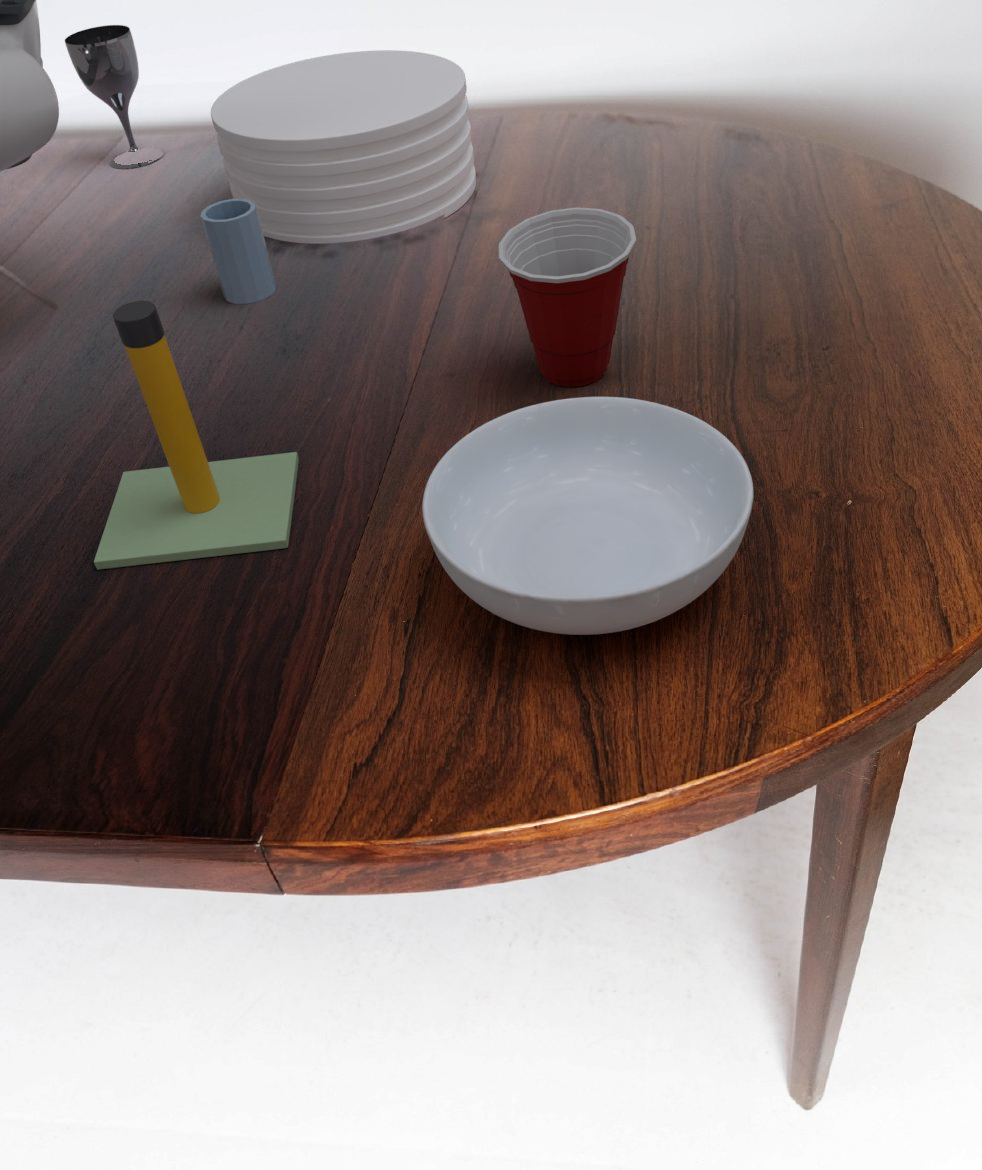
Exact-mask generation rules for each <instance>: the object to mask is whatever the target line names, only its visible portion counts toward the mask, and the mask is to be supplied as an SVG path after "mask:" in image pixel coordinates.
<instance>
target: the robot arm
mask: <svg viewBox="0 0 982 1170" xmlns="http://www.w3.org/2000/svg"><path fill="white" fill-rule="evenodd" d="M39 18H40V17H39V10H38V1H37V0H0V173H1V172H3V171H5V170H10V169H13V168H17V167H19V166H20V165H23V164H25V163H27V162H28V161H29V160H30V159H31V158H32V156H33V155H34V154H35V153H36V152H37V151H39V150H40V149H42V148H43V147H44V146H46V145H47V144H48V143H49V142H50V141H51V139H52V138H53V136H54V135H55V133H56V130H57V128H58V124H59V119H60V106H59V99H58V95H57V91H56V88H55V86H54V84H53V82H52V80H51V78H50V76H49V74H48V72H47V71H46V70H45V69H44V61H43V57H42V46H41V43H42V42H41V29H40V20H39Z"/></svg>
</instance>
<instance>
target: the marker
mask: <svg viewBox="0 0 982 1170" xmlns="http://www.w3.org/2000/svg"><path fill="white" fill-rule="evenodd" d="M112 318H113V321H114V324H115V326H116V330H117V332H118V334H119V338H120V340H121V343H122V345H123V347H124V348H125V349H124V350H125V351H126V354H127V356H128V360H129V361H130V364H131V368H132V370H133V373H134V375H135V378H136V381H137V384H138V386H139V389H140V391H141V395H142V397H143V399H144V402H145V404H146V407H147V410H148V414H149V416H150V418H151V421H152V424H153V427H154V429H155V432H156V434H157V437H158V439H159V443H160V445H161V448H162V451H163V453H164V456H165V458H166V461H167V464H168V467H170V469H171V472H172V475H173V477H174V480H175V483H176V486H177V488H178V491H179V494H180V496H181V499H182V502H183V504H184V507H185V509H186V510H187V511H189V512H191V513H203V512H207V511H209V510H211V509H213V508H214V507H215V506H217V504H218V503H219V501H220V496H219V493H218V490H217V487H216V485H215V482H214V479H213V476H212V473H211V470H210V467H209V464H208V462H209V461H208V459H207V455H206V453H205V450H204V447H203V446H204V445H203V443H202V441H201V437H200V435H199V431H198V429H197V425H196V423H195V420H194V417H193V414H192V411H191V408H190V406H189V403H188V399H187V398H186V393H185V391H184V387H183V385H182V383H181V379H180V376H179V374H178V370H177V367H176V364H175V361H174V358H173V356H172V352H171V350H170V346H169V344H168V341H167V338H166V335H165V330H164V327H163V324H162V321H161V318H160V315H159V312H158V309H157V307H156V304H155V303H154V302H152V301H150V300H135V301H130V302H127V303H125V304H122V305H120V306H119V307H117V308H116V309H115V310H114V311H113V313H112Z"/></svg>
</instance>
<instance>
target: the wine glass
mask: <svg viewBox="0 0 982 1170" xmlns="http://www.w3.org/2000/svg"><path fill="white" fill-rule="evenodd" d="M133 38H134V37H133V34H132V32H131V28H130V27H129V26H127V25H123V24H110V25H100V26H95V27H90V28H85V29H83V30H79V31H77V32H74V33H72V34H70V35H68V36H66V38H64V43H65V47H66V50H67V52H68V56H69V58H70V61H71V64H72V66H73V68H74V70H75V72H76V74H77V76H78V77H79V79H80V81H81V82H82V84H83V85H84V87H85V89H87V91H89V92H90V93H91V94H92V95H94V96H95V97H96V98H98V99H99V100H100V101H102V102H103V103H104V104H106V105H107V106H108V107H110V108H111V110H113V112H114V113H115V114H116V116H117V117H118V119H119V122H120V124H121V126H122V128H123V130H124V133H125V135H126V138H127V142H128V145H129V148H128V150H127V151H128V152H135V151H136V150H138V148H139V146H137V144H136V141H135V138H134V135H133V132H132V127H131V122H130V117H129V107H130V103H131V100H132V97H133V94H134V93H135V91H136V90H135V89H136V87H137V85H138V81H139V79H140V78H139V77H140V75H139V74H140V69H139V59H138V55H137V54H138V53H137V49H136V45H135V42H134V39H133ZM124 152H125V151H123V152H121V153H118V154H116V155H115V156H113V157H112V158H111V159H110V161H109V166H110V167H112V168H114V169H119V170H120V169H121V170H128V169H129V170H130V169H138V168H140V167H141V168H142V167H145V166H148V165H152V164H153V163H152V162H150V163H148V161H147V162H144V163H143V162H142V163H138V164H131V165H121V164H117V163H115V161H114V159H115V158H116V157H117V156H118V155H120V154H122V153H124ZM149 161H152V160H149ZM154 161H156V160H154ZM156 162H157V161H156Z"/></svg>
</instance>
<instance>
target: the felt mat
mask: <svg viewBox="0 0 982 1170" xmlns="http://www.w3.org/2000/svg"><path fill="white" fill-rule="evenodd" d="M299 462H300V458H299V454H298V452H297V451H292V452H284V453H275V454H267V455H256V456H249V457H240V458H232V459H231V458H230V459H223V460H216V461H208V464H209V467H210V470H211V473H212V476H213V479H214V482H215V485H216V487H217V490H218V493H219V496H220V501H219V503H218V504H217V506H215V507H214V508H213V509H211V510H209V511H207V512H203V513H191V512H189V511H187V510H186V509H185V507H184V504H183V502H182V499H181V496H180V494H179V491H178V488H177V486H176V483H175V480H174V477H173V475H172V472H171V469H170V467H169V466H163V467H155V468H154V467H152V468H145V469H136V470H127V471H123V472H122V475H121V478H120V481H119V484H118V487H117V490H116V493H115V496H114V499H113V501H112V502H113V503H112V506H111V509H110V511H109V514H108V517H107V521H106V523H105V526H104V528H103V529H104V530H103V533H102V536H101V538H100V542H99V544H98V547H97V551H96V554H95V557H94V560H93V564H94V566H95V568H96V570H97V571H98V570H99V571H100V570H106V569H116V568H124V567H133V566H141V565H142V566H143V565H151V564H160V563H167V562H177V561H186V560H193V559H194V560H195V559H203V558H212V557H221V556H229V555H230V556H231V555H239V554H247V553H256V552H264V551H265V552H266V551H273V550H274V551H275V550H281V549H282V550H283V549H288V548H289V543H290V535H291V527H292V520H293V519H292V518H293V512H294V511H293V509H294V504H295V494H296V487H297V479H298V471H299Z"/></svg>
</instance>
